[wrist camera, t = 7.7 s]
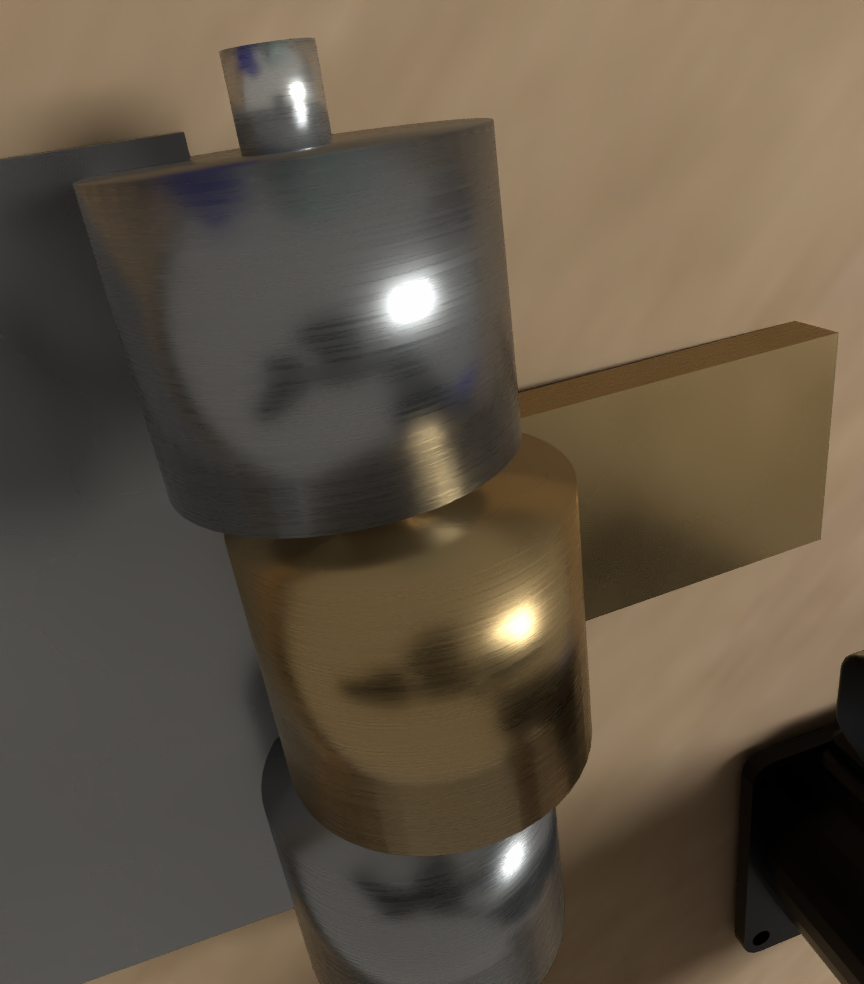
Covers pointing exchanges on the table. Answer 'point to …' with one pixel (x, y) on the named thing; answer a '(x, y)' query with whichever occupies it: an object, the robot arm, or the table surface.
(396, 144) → the fixed leaf
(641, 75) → the table surface
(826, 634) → the table surface
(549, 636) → the brass hinge knuckle
